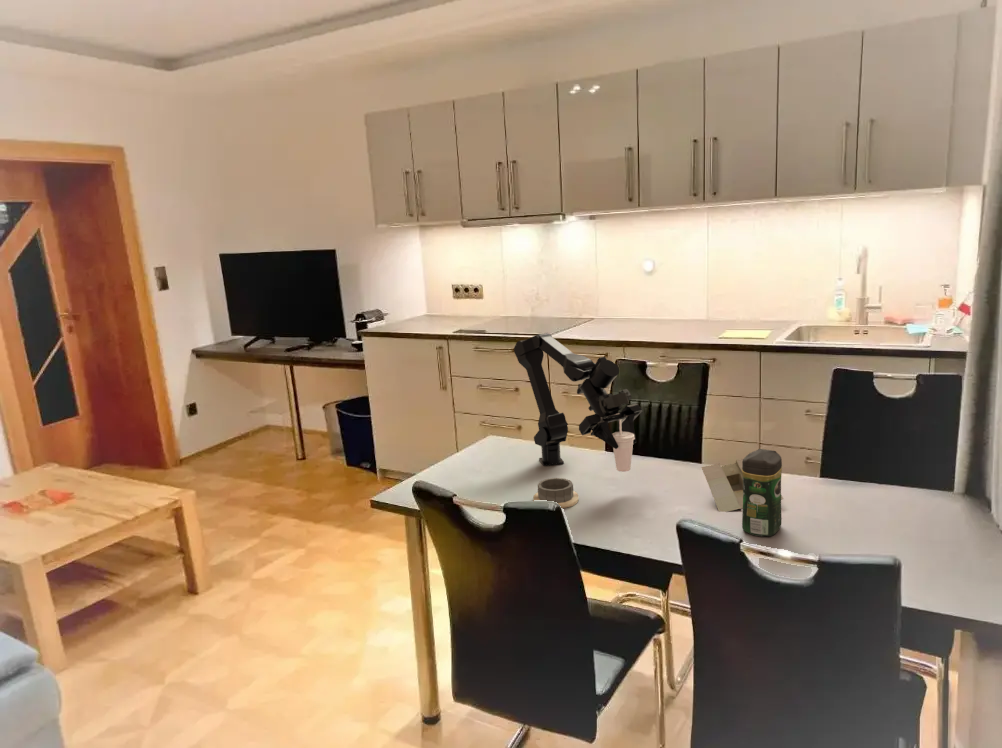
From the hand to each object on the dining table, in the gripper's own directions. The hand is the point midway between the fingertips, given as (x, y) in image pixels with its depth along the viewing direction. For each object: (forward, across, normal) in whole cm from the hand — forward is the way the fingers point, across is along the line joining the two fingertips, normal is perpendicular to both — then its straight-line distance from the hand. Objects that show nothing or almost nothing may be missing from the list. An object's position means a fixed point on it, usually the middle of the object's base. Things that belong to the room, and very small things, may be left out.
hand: (626, 445), depth 189 cm
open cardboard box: (+26, +18, -7) cm, 32 cm away
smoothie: (+4, 0, +6) cm, 7 cm away
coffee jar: (+36, +7, -17) cm, 40 cm away
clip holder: (+3, -18, +15) cm, 24 cm away
